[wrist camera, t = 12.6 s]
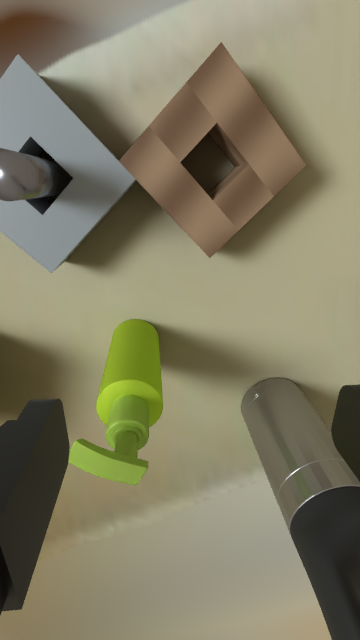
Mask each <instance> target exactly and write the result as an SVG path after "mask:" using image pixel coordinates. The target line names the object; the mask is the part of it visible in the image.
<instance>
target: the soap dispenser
mask: <svg viewBox="0 0 360 640" xmlns="http://www.w3.org/2000/svg"><path fill="white" fill-rule="evenodd" d="M96 409H97V413H98V416H99V418H100V419H101V421H102V422H103V423H104V424H105V425H107V430H106V440H107V442H108V444H109V445H110V446H111V447H112V448H113V449H115V452H113V451H110V450H107V449H104V448H101V447H99V446H96V445H94V444H92V443H90V442H88V441H86V440H84V439H79V440H76V441H75V442H74V444H73V446H72V448H71V450H70V451H69V460H68V462H69V463H71V464H73V465H74V466H76V467H78V468H80V469H82V470H84V471H86V472H88V473H91V474H93V475H96V476H99V477H102V478H105V479H109V480H113V481H117V482H122V483H127V484H132V485H137V484H138V482H139V481H140V479H141V478H142V476H143V475H144V473H145V472H146V470H147V469H148V461H145V460H141V459H137V453H138V450H139V449H141V448H142V447H143V446H144V445H145V444H146V443H147V441H148V438H149V427H151V426H152V425H153V424H155V423H156V422H157V420H158V419H159V418H160V416H161V413H162V410H163V398H162V382H161V365H160V349H159V336H158V333H157V331H156V329H155V328H154V327H153V326H152V325H151V324H150V323H148V322H146V321H143V320H139V319H132V320H127V321H125V322H123V323H121V324H120V325H119V326H118V327H117V328H116V329H115V331H114V333H113V337H112V341H111V345H110V349H109V353H108V357H107V361H106V366H105V370H104V374H103V378H102V382H101V386H100V390H99V395H98V399H97V403H96Z"/></svg>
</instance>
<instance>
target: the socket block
mask: <svg viewBox="0 0 360 640" xmlns="http://www.w3.org/2000/svg"><path fill="white" fill-rule="evenodd" d="M0 148H3V149H8V150H12V151H16V152H20V153H24V154H28V155H32V156H36V157H38V156H39V155H40V153H41V152H42V151H43V149H44V150H45V151H46V152H47V153H48V154H49V155H50V156H51V157H52V158H53V159H54V160H55V161H56V162H57V163H58V164H60V165H61V166H62V167H63V168H64V169H65V170H66V171H67V172H68V173H69V174H70V175H71V176H72V177H73V180H72V181H71V182H70V183H69V184H68V186H67V187H66V188H65V189H64V190H63V191H62V193H61V194H60V195H59V196H58V197H57V199H56V200H55V201H54V202H53V203H52V205H50V204H49V203H48V202H47V201H46V200H45V199H44V198H43V197H42V198H34V199H26V200H18V201H3V200H0V232H2V233H3V234H4V235H5V236H7V237H8V238H9V239H10V240H11V241H13V242H14V243H15V244H16V245H18V246H19V247H20V248H21V249H22V250H24V251H25V252H26V253H27V254H29V255H30V256H31V257H32V258H33V259H35V260H36V261H37V262H38V263H40V264H41V265H42V266H43V267H44V268H46V269H47V270H48V271H49V272H51V273H52V272H53V271H55V270H56V269H57V268H58V267H59V266H60V265H61V264H62V263H63V262H64V261H65V260H66V259H67V258H68V257H69V256H70V255H71V254H72V252H73V251H74V250H75V249H76V248H77V247H78V246H79V245H80V244H81V242H82V241H83V240H84V239H85V238H86V237H87V236H88V235H89V234H90V232H91V231H92V230H93V229H94V228H95V227H96V226H97V225H98V223H99V222H100V221H101V220H102V219H103V218H104V217H105V216H106V215H107V213H108V212H109V211H110V210H111V209H112V208H113V207H114V206H115V205H116V203H117V202H118V201H119V200H120V199H121V198H122V197H123V196H124V194H125V193H126V192H127V191H128V190H129V189H130V188H131V187H132V186H133V184H134V183H135V182H136V181H137V180H136V179H135V178H134V177H133V176H132V175H131V174H130V173H129V172H128V171H127V170H126V169H125V168H124V166H123V165H122V164H121V163H120V162H119V160H118V159H117V158H116V157H115V155H114V154H113V153H112V152H111V151H110V150H109V149H108V148H107V147H106V146H105V145H104V144H103V143H102V142H101V141H100V140H99V138H98V137H97V136H96V135H95V134H94V133H93V132H92V131H91V130H90V129H89V128H88V127H87V126H86V125H85V124H84V122H83V121H82V120H81V119H80V118H79V117H78V116H77V115H76V114H75V113H74V112H73V111H72V110H71V109H70V108H69V107H68V105H67V104H66V103H65V102H64V101H63V100H62V99H61V98H60V97H59V96H58V95H57V94H56V93H55V92H54V91H53V90H52V88H51V87H50V86H49V85H48V84H47V83H46V82H45V81H44V80H43V79H42V78H41V77H40V76H39V75H38V74H37V73H36V72H35V71H34V70H33V69H32V68H31V67H30V66H29V65H28V64H27V63H26V62H25V61H24V60H23V59H22V58H21V57H20V56H19V55H17V56H16V57H15V59H14V60H13V62H12V63H11V65H10V66H9V68H8V69H7V70H6V72H5V73H4V75H3V76H2V77H1V79H0Z"/></svg>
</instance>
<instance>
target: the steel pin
mask: <svg viewBox="0 0 360 640" xmlns="http://www.w3.org/2000/svg"><path fill="white" fill-rule="evenodd" d="M70 182H71V178H70V174H69V173H68V172H67V171H66V170H65V169H64V168H63V167H62V166H61V165H60V164H58V163H57V162H56V161H52V160H48V159H44V158H40V157H36V156H32V155H28V154H24V153H20V152H16V151H12V150H8V149H3V148H0V200H3V201H18V200H26V199H34V198H42V197H50V196H58V195H60V194H61V193H62V191H63V190H64V189H65V188H66V187H67V186H68V184H69V183H70Z"/></svg>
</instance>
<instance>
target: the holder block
mask: <svg viewBox="0 0 360 640" xmlns="http://www.w3.org/2000/svg"><path fill="white" fill-rule="evenodd" d="M207 133H209V135H210V136H211V137H212V138H213V140H214V141H215V142H216V143H217V145H218V146H219V147H220V148H221V150H222V151H223V152H224V154H225V155H226V156H227V157H228V159H229V160H230V161H231V162H232V164H233V165H234V166H235V167H234V168H233V169H232V170H231V171H230V172H229V173H228V175H227V176H226V177H225V178H224V179H223V180H222V181H221V182H220V183H219V184H218V185H217V186H216V187H215V188H214V189H213V190H212V191H211V192H210V193H209V194H207V193H206V192H205V191H204V190H203V189H202V187H201V186H200V185H199V184H198V183H197V182H196V180H195V179H194V178H193V177H192V176H191V175H190V173H189V172H188V171H187V170H186V169H185V168H184V166H183V165H182V164H181V163H180V162H181V161H182V160H183V159H184V158H185V157H186V156H187V154H188V153H189V152H190V151H191V150H192V149H193V148H194V147H195V146H196V145H197V144H198V143H199V141H200V140H201V139H202V138H203V137H204V136H205V135H206V134H207ZM119 162H120V163H121V164H122V165H123V166H124V168H125V169H126V170H127V171H128V172H129V173H130V174H131V175H132V176H133V177H134V178H135V179H136V180H137V181H138V182H139V183H140V185H141V186H142V187H143V188H144V189H145V190H146V191H147V192H148V193H149V194H150V195H151V196H152V197H153V198H154V199H155V200H156V201H157V203H158V204H159V205H160V206H161V207H162V208H163V209H164V210H165V211H166V212H167V213H168V214H169V215H170V216H171V217H172V218H173V220H174V221H175V222H176V223H177V224H178V225H179V226H180V227H181V228H182V229H183V230H184V231H185V232H186V233H187V234H188V235H189V236H190V238H191V239H192V240H193V241H194V242H195V243H196V244H197V245H198V246H199V247H200V248H201V249H202V250H203V251H204V252H205V253H206V255H207V256H208V257H209V258H210V257H211V256H212V255H214V254H215V253H216V252H217V251H218V250H219V249H220V248H221V247H222V246H223V245H224V244H225V243H226V242H227V241H228V240H229V239H230V238H231V237H232V236H233V235H234V234H235V233H236V232H237V231H238V230H240V229H241V228H242V227H243V226H244V225H245V224H246V223H247V222H248V221H249V220H250V219H251V218H252V217H253V216H254V215H255V214H256V213H257V212H258V211H259V210H260V209H261V208H262V207H263V206H264V205H265V204H267V203H268V202H269V201H270V200H271V199H272V198H273V197H274V196H275V195H276V194H277V193H278V192H279V191H280V190H281V189H282V188H283V187H284V186H285V185H286V184H287V183H288V182H289V181H290V180H291V179H293V178H294V177H295V176H296V175H297V174H298V173H299V172H300V171H301V170H302V169H303V168H304V167H305V166H306V164H305V163H304V161H303V160H302V158H301V157H300V156H299V154H298V153H297V151H296V150H295V148H294V147H293V145H292V144H291V142H290V141H289V140H288V138H287V137H286V135H285V134H284V132H283V131H282V129H281V128H280V127H279V125H278V124H277V122H276V121H275V119H274V118H273V116H272V115H271V113H270V112H269V111H268V109H267V108H266V106H265V105H264V103H263V102H262V100H261V99H260V97H259V96H258V95H257V93H256V92H255V90H254V89H253V87H252V86H251V84H250V83H249V81H248V80H247V79H246V77H245V76H244V74H243V73H242V71H241V70H240V68H239V67H238V66H237V64H236V63H235V61H234V60H233V58H232V57H231V55H230V54H229V52H228V51H227V50H226V48H225V47H224V45H223V44H222V42H221V43H220V44H219V45H218V46H217V48H216V49H215V50H214V51H213V52H212V53H211V55H210V56H209V57H208V58H207V59H206V60H205V62H204V63H203V64H202V65H201V66H200V67H199V68H198V70H197V71H196V72H195V73H194V74H193V75H192V77H191V78H190V79H189V80H188V81H187V82H186V84H185V85H184V86H183V87H182V88H181V89H180V90H179V92H178V93H177V94H176V95H175V96H174V97H173V99H172V100H171V101H170V102H169V103H168V104H167V106H166V107H165V108H164V109H163V110H162V111H161V112H160V114H159V115H158V116H157V117H156V118H155V119H154V121H153V122H152V123H151V124H150V125H149V126H148V127H147V129H146V130H145V131H144V132H143V133H142V134H141V136H140V137H139V138H138V139H137V140H136V141H135V143H134V144H133V145H132V146H131V147H130V148H129V149H128V151H127V152H126V153H125V154H124V155H123V156H122V158H121V159H120V160H119Z"/></svg>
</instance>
